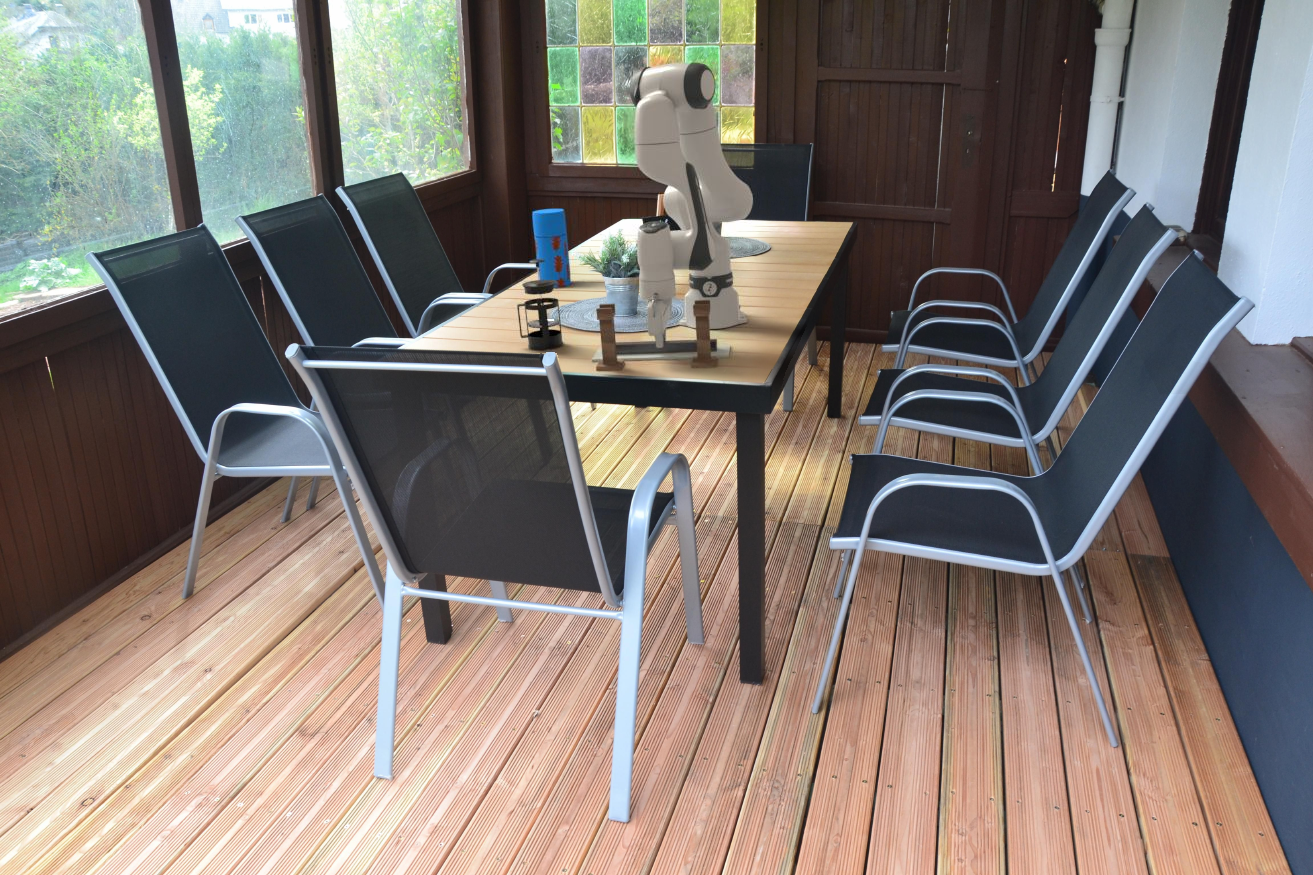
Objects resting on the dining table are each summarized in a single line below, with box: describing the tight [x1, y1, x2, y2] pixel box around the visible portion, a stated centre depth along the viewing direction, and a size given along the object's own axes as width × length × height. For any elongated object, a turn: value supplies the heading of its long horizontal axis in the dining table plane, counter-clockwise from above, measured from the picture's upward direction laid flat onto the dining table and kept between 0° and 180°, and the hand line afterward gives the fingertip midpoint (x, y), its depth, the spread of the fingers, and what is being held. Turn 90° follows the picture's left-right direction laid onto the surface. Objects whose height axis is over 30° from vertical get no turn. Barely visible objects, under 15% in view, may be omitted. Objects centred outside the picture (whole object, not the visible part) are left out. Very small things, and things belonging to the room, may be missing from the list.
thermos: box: [532, 208, 572, 289], centre depth 344 cm, size 11×11×25 cm
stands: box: [595, 300, 719, 371], centre depth 244 cm, size 6×29×15 cm, turn 83°
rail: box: [616, 338, 718, 354], centre depth 256 cm, size 2×28×2 cm, turn 83°
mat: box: [591, 344, 731, 363], centre depth 256 cm, size 10×34×1 cm, turn 83°
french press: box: [516, 258, 564, 351], centre depth 268 cm, size 12×9×23 cm
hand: (661, 344), depth 255 cm, fingers open, 4 cm apart
